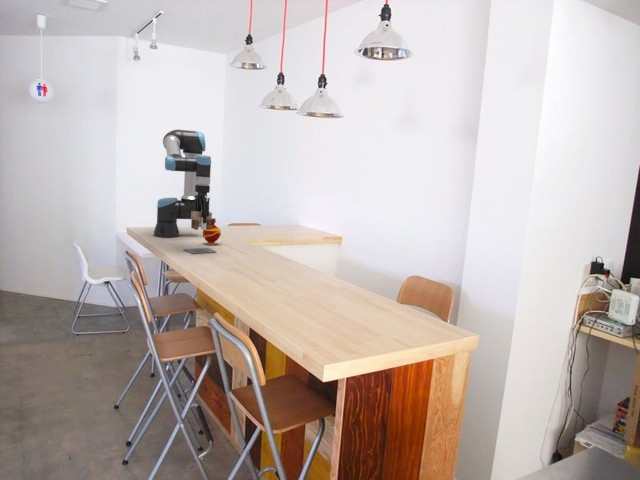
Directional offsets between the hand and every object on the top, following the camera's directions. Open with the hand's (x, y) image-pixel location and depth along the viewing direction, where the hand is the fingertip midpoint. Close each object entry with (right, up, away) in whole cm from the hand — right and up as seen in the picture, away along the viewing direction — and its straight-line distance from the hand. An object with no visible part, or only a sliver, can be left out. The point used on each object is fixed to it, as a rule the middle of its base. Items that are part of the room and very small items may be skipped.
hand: (200, 228), depth 259 cm
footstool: (0, 0, 0) cm, 0 cm away
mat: (-1, -12, +2) cm, 13 cm away
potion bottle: (0, -9, +25) cm, 27 cm away
